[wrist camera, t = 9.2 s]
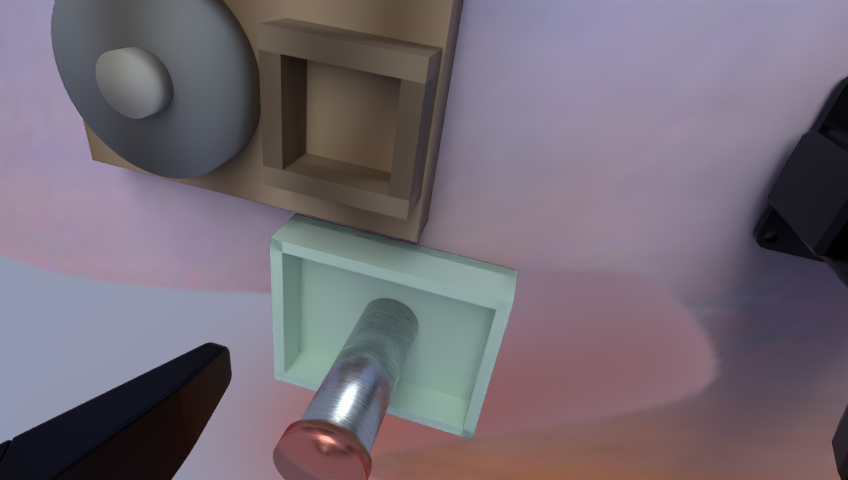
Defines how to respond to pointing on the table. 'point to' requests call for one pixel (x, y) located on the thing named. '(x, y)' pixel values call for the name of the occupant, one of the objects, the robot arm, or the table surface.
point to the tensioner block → (269, 98)
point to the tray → (401, 280)
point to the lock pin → (351, 399)
